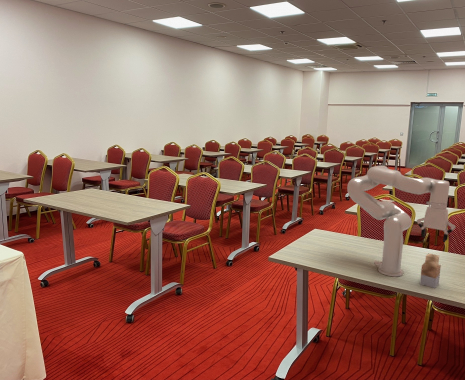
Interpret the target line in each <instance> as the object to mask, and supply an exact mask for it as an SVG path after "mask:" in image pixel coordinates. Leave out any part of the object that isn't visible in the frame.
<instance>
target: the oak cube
mask: <svg viewBox="0 0 465 380" xmlns="http://www.w3.org/2000/svg"><path fill="white" fill-rule="evenodd" d="M439 262H440V255H438V254H433V253H427V254H426V255H425V261H424V263H425V265H426V266H430V267H434V268H436V267H437V266H438V264H439Z"/></svg>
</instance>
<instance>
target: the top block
mask: <svg viewBox="0 0 465 380" xmlns="http://www.w3.org/2000/svg"><path fill="white" fill-rule="evenodd" d="M441 267H442V265H441V264H439V263H438V266H437V267H436V268H434V267H430V266H426V265H425V262H423V264H422V265H421V269H420V270H421V271H420V276H421V275H424V276H428V277H432V278H437V277H438V276H439V275H440V276H441V274H440V273H441Z"/></svg>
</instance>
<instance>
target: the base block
mask: <svg viewBox="0 0 465 380" xmlns="http://www.w3.org/2000/svg"><path fill="white" fill-rule="evenodd" d="M440 276H441V274H440V275H439V276H438V277H437V278H432V277H428V276H424V275H421V274H420V279H419V284H420V285H423V286H425V287H430V288H434V289H436V287H437V286H438V285H439V284H440Z"/></svg>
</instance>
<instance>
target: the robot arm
mask: <svg viewBox="0 0 465 380" xmlns="http://www.w3.org/2000/svg"><path fill="white" fill-rule="evenodd" d="M380 184H381V185H385V186H389V187H393V188H396V189H397V190H400V191H402V192H405V193H410V194H414V195H424V194H427V193H430V197H429V201H426V203H425V204H426V205H427V206H426V210H425V213H424V217H422V218H421V217H420V218H418V219H416V222H417V225H418V227H419V228H420V230H421V232H420V236H421V238H425V236H426V232H427V229H428V228H429V229H433V230H438V231H442V232H444V233H443V237H442V242H443V243H445V242H447V241H448V238H449V234H450V233H452V232H453V231H454V230H455V229H456V225H455V224H452V223H451V221H449V210H448V209H447V206H448V198H449V193H450V182H449V181H448V180H444V179H441V180H440V179H435V178H431V177H422V178H414V177H409V176H405V175H403V174H402V173H401V171H398V170H395V169H389V167H387V166H386V165H376V166H372V167H370V168H369V169H368V170H367V172H366V174H365V175H363V176H356V177H353V178H352V179H350V180H349V181H348V183H347V191H346V192H347V195H348V196H349V197H350V199H351V200H352V201H353V202H354V203H355V204H356V205H358V206H359V207H360V208H362V209H363V210H364V211H365V212H366V213H367V214H368V215H370V216H371V217H372V218H373V219H376V220H377V221H382V220H384V223H383V246H382V247H383V248H382V258H381V260H382V261H379V260H374V265H375V266H376V267H378V270H377V271H378V272H379V273H380V274H381V275H385V276H388V277H396V278H397V277H402V276H404V271H403V270H402V269H401V266H402V258H403V247H404V237H403V235H404V234H403V232H404V231H406V230H408V229H410V228H411V226H412V223H413V222H412V218H411V216H410V215H409V214H408V213H406V212H405V211H404V210H402V209H401V208H400V207H398V206H397V204H395V203H393V202H391V201H388V200H383V201H379V200H378V199H377V198H376V197H374V196H373V195H371V194H369V193H368V192H366V191H369V190H372V189H374V188H375V187H377V186H378V185H380ZM422 222H423V223H422ZM448 226H449V227H450V229H448ZM426 228H427V229H426Z"/></svg>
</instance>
